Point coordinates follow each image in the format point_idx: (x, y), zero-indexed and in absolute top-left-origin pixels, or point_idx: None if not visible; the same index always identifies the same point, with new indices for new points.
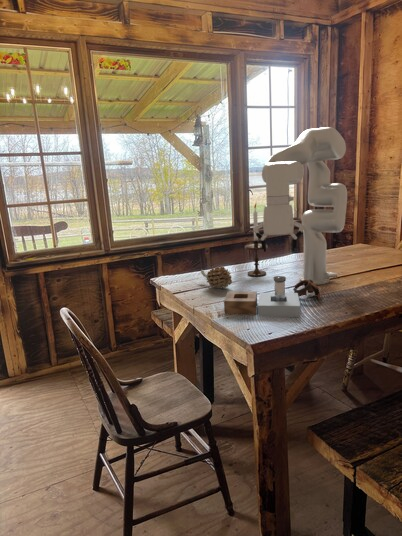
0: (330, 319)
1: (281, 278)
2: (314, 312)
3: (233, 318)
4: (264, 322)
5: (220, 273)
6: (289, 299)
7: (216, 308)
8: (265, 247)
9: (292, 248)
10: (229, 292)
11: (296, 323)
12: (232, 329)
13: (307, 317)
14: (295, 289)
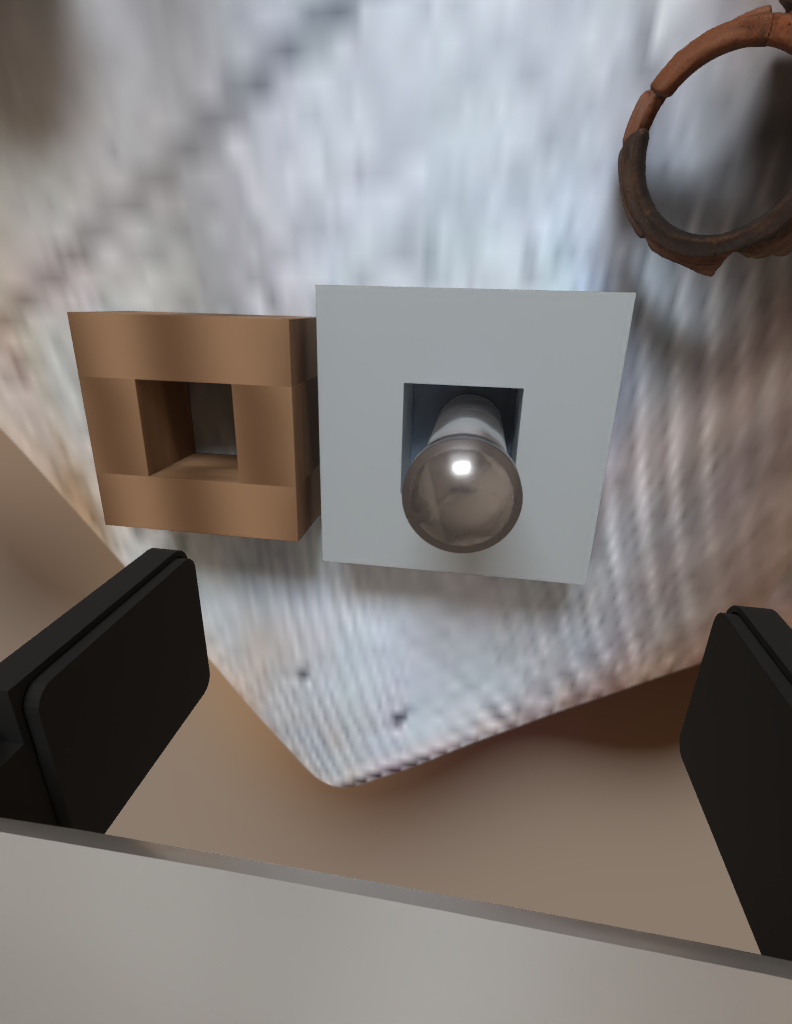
0: (741, 593)
1: (475, 533)
2: (683, 485)
3: (214, 551)
4: (374, 608)
5: None
6: (536, 459)
7: None
8: (166, 741)
9: (698, 785)
10: (87, 341)
11: (536, 630)
12: (235, 670)
13: (615, 559)
14: (644, 153)
